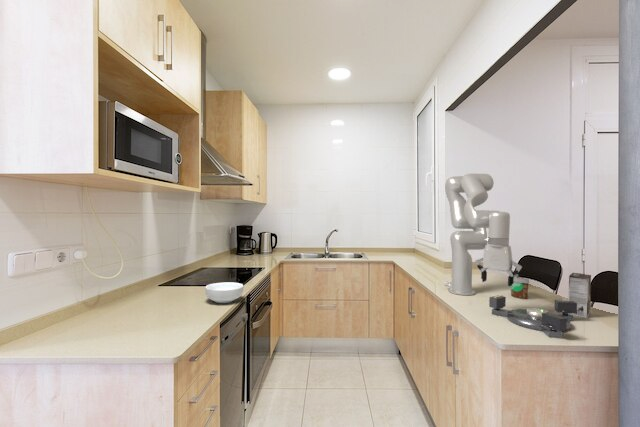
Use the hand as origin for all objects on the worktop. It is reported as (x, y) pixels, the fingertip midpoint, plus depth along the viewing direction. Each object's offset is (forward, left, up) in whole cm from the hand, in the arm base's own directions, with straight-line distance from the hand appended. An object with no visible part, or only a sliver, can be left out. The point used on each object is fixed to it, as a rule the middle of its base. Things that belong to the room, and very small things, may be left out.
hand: (496, 283), depth 137 cm
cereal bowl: (-94, -70, -13) cm, 118 cm away
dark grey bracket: (+1, -1, -9) cm, 9 cm away
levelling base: (+12, -1, -12) cm, 17 cm away
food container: (-1, +36, -13) cm, 39 cm away
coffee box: (+25, +24, -13) cm, 37 cm away
